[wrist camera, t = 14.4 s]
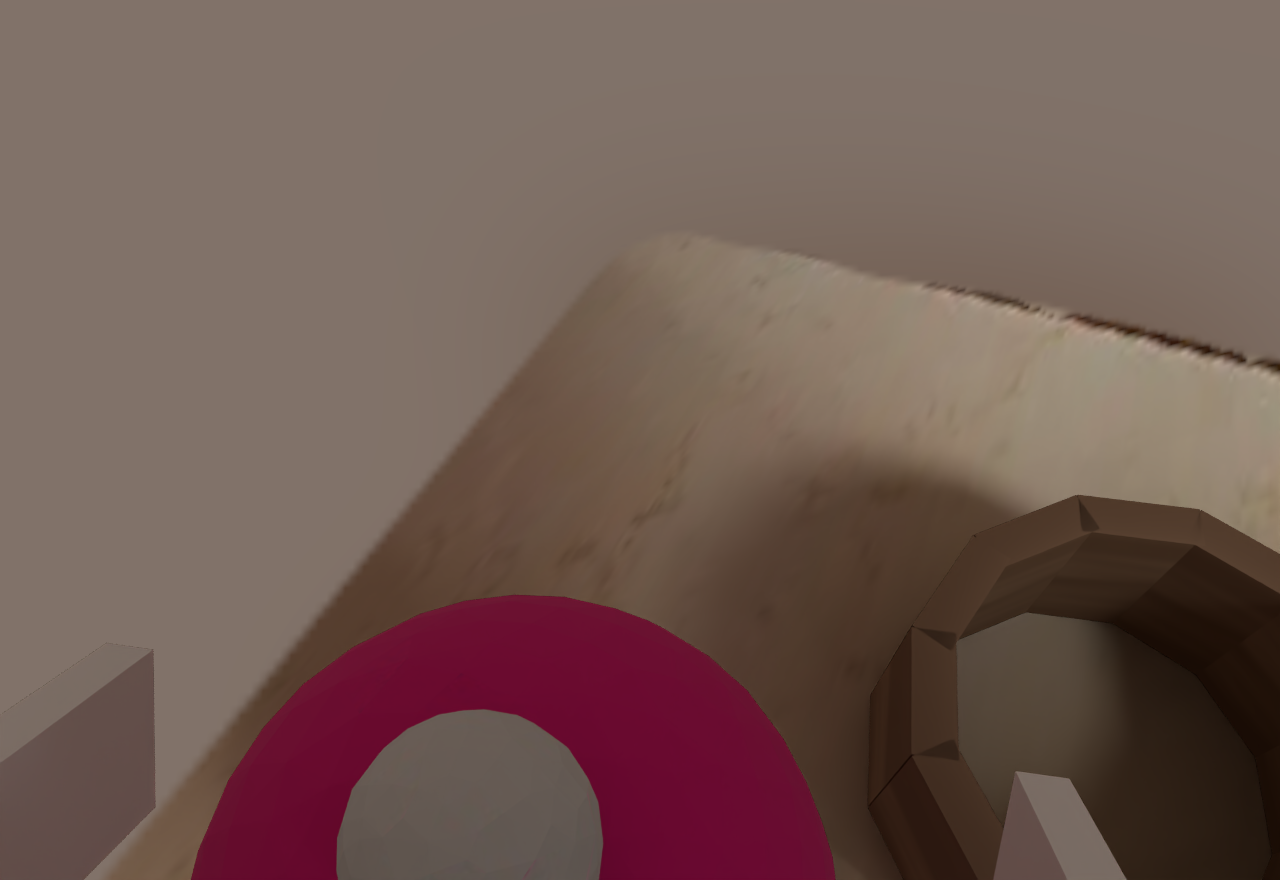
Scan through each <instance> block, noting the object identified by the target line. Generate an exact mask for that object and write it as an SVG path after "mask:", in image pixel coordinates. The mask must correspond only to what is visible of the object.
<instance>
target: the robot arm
mask: <svg viewBox="0 0 1280 880" xmlns="http://www.w3.org/2000/svg"><path fill="white" fill-rule="evenodd" d="M154 744H155V743H154V667H153V649H146V648H139V647H131V646H124V645H117V644H110V643H106V644H104V645H103V646H101V647H100V648H98V649H97V650H95V651H94V652H92V653H91V654H89V655H88V656H87V657H85V658H84V659H82V660H81V661H79V662H78V663H76V664H75V665H73V666H72V667H70V668H69V669H67V670H66V671H64V672H63V673H61V674H60V675H58V676H57V677H55V678H54V679H53V680H51V681H49V682H48V683H46V684H45V685H44V686H42V687H41V688H39V689H38V690H36V691H35V692H33V693H32V694H30V695H29V696H28V697H26V698H24V699H23V700H21V701H20V702H19V703H17V704H16V705H14V706H13V707H11V708H10V709H8V710H7V711H5V712H4V713H2V714H1V715H0V880H84V879H85V878H86V876H88V874H89V873H90V872H91V871H93V870H94V868H95V867H96V866H97V865H98V864H99V863H100V862H101V861H102V860H103V859H104V858H105V857H106V856H107V855H108V854H109V853H110V852H111V851H112V850H113V849H114V848H115V847H116V846H117V845H118V844H119V843H120V842H121V841H122V840H123V839H124V838H125V837H126V836H127V835H128V834H129V833H130V832H131V831H132V830H133V829H134V828H135V827H136V826H137V825H138V824H139V823H140V822H141V821H142V820H143V819H144V818H145V817H146V816H147V815H148V814H149V813H150V812H151V811H152V810H153V809H154V808H155V749H154V748H155V745H154ZM993 880H1127V879H1126V878H1125V876H1124V874H1123V872H1122V871H1121V869H1120V867H1119V865H1118V864H1117V862H1116V860H1115V858H1114V856H1113V855H1112V853H1111V851H1110V849H1109V848H1108V846H1107V844H1106V842H1105V841H1104V839H1103V837H1102V835H1101V833H1100V832H1099V830H1098V828H1097V826H1096V825H1095V823H1094V821H1093V819H1092V818H1091V816H1090V814H1089V812H1088V810H1087V809H1086V807H1085V805H1084V803H1083V802H1082V800H1081V798H1080V796H1079V795H1078V793H1077V791H1076V789H1075V787H1074V786H1073V784H1072V782H1071V780H1070V779H1069V778H1062V777H1055V776H1048V775H1041V774H1034V773H1027V772H1019V771H1015V776H1014V780H1013V785H1012V790H1011V795H1010V800H1009V805H1008V810H1007V815H1006V820H1005V825H1004V829H1003V834H1002V839H1001V844H1000V849H999V854H998V859H997V864H996V869H995V874H994V878H993Z"/></svg>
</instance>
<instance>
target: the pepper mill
mask: <svg viewBox="0 0 1280 880" xmlns="http://www.w3.org/2000/svg"><path fill="white" fill-rule="evenodd" d="M191 880H836V879H835V871H834V864H833V857H832V854H831V850H830V847H829V844H828V840H827V837H826V834H825V830H824V827H823V824H822V821H821V818H820V816H819V813H818V810H817V808H816V805H815V803H814V800H813V798H812V795H811V793H810V790H809V788H808V785H807V782H806V781H805V779H804V777H803V775H802V773H801V771H800V769H799V767H798V765H797V764H796V762H795V760H794V758H793V756H792V754H791V752H790V750H789V749H788V747H787V745H786V743H785V741H784V739H783V738H782V736H781V735H780V734H779V732H778V731H777V730H776V728H775V727H774V726H773V724H772V723H771V722H770V720H769V719H768V718H767V716H766V715H765V714H764V712H763V711H762V710H761V708H760V707H759V706H758V704H757V703H756V702H755V700H754V699H753V698H752V696H751V695H750V694H749V692H748V691H747V690H746V689H745V688H744V687H743V686H742V685H740V684H739V683H738V682H737V681H736V680H735V679H734V678H733V677H731V676H730V675H729V674H728V673H727V672H726V671H725V670H724V669H723V668H721V667H720V666H719V665H718V664H717V663H716V662H715V661H714V660H712V659H711V658H710V657H709V656H708V655H706V654H704V653H703V652H701V651H699V650H698V649H696V648H695V647H693V646H691V645H690V644H688V643H686V642H685V641H683V640H682V639H680V638H678V637H677V636H675V635H674V634H672V633H670V632H669V631H667V630H665V629H664V628H662V627H660V626H658V625H656V624H654V623H652V622H650V621H648V620H645V619H642V618H640V617H637V616H634V615H631V614H629V613H626V612H623V611H620V610H618V609H615V608H611V607H606V606H602V605H598V604H593V603H589V602H584V601H580V600H576V599H571V598H567V597H554V596H530V595H509V596H501V597H492V598H484V599H476V600H468V601H463V602H459V603H456V604H453V605H449V606H446V607H442V608H439V609H435V610H432V611H429V612H425V613H422V614H419V615H417V616H415V617H413V618H411V619H409V620H407V621H405V622H403V623H401V624H399V625H397V626H395V627H393V628H391V629H389V630H387V631H385V632H383V633H381V634H379V635H377V636H375V637H373V638H371V639H369V640H367V641H364V642H362V643H360V644H358V645H356V646H354V647H353V648H351V649H350V650H348V651H347V652H346V653H344V654H343V655H342V656H340V657H339V658H338V659H336V660H335V661H334V662H332V663H331V664H330V665H328V666H327V667H326V668H324V669H323V670H322V671H320V672H319V673H318V674H316V675H315V676H314V677H312V678H311V679H310V680H308V681H307V682H306V683H304V684H303V685H302V686H301V687H300V688H299V689H298V691H297V692H296V693H295V694H294V695H293V696H292V697H291V698H290V699H289V700H288V701H287V702H286V704H285V705H284V706H283V707H282V708H281V709H280V710H279V711H278V712H277V713H276V714H275V716H274V717H273V718H272V719H271V720H270V721H269V722H268V723H267V724H266V725H265V726H264V728H263V729H262V731H261V732H260V734H259V735H258V737H257V738H256V740H255V741H254V743H253V744H252V746H251V747H250V749H249V750H248V752H247V753H246V755H245V756H244V758H243V759H242V761H241V762H240V764H239V765H238V767H237V768H236V770H235V771H234V773H233V774H232V776H231V777H230V779H229V780H228V783H227V785H226V787H225V790H224V792H223V794H222V797H221V799H220V801H219V804H218V806H217V808H216V811H215V813H214V815H213V817H212V820H211V822H210V824H209V827H208V829H207V831H206V834H205V836H204V838H203V841H202V843H201V845H200V848H199V850H198V854H197V858H196V862H195V865H194V869H193V873H192V877H191Z"/></svg>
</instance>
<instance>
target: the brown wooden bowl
mask: <svg viewBox="0 0 1280 880" xmlns="http://www.w3.org/2000/svg"><path fill="white" fill-rule="evenodd" d="M1025 612H1029V613H1037V614H1045V615H1052V616H1060V617H1068V618H1076V619H1083V620H1091V621H1099V622H1107V623H1114V624H1115V625H1117V626H1118V627H1120V628H1122V629H1123V630H1125V631H1126V632H1128V633H1130V634H1131V635H1133V636H1135V637H1136V638H1138V639H1139V640H1141V641H1143V642H1144V643H1146V644H1147V645H1149V646H1151V647H1152V648H1154V649H1156V650H1157V651H1159V652H1160V653H1162V654H1164V655H1165V656H1167V657H1168V658H1170V659H1172V660H1173V661H1175V662H1177V663H1178V664H1180V665H1181V666H1183V667H1185V668H1186V669H1188V670H1189V671H1191V672H1193V673H1194V674H1196V675H1197V676H1198V678H1199V679H1200V681H1201V682H1202V683H1203V685H1204V686H1205V688H1206V689H1207V690H1208V692H1209V693H1210V695H1211V696H1212V698H1213V699H1214V700H1215V702H1216V703H1217V705H1218V706H1219V707H1220V709H1221V710H1222V712H1223V713H1224V714H1225V716H1226V717H1227V719H1228V720H1229V721H1230V723H1231V724H1232V726H1233V727H1234V728H1235V730H1236V731H1237V733H1238V734H1239V735H1240V737H1241V738H1242V740H1243V741H1244V742H1245V744H1246V745H1247V747H1248V748H1249V749H1250V751H1251V752H1252V754H1253V755H1254V756H1255V758H1256V764H1257V770H1258V775H1259V781H1260V787H1261V793H1262V798H1263V804H1264V810H1265V816H1266V821H1267V827H1268V833H1269V838H1270V844H1271V850H1272V857H1271V859H1270V862H1269V864H1268V866H1267V869H1266V871H1265V873H1264V876H1263V878H1262V880H1280V554H1279V553H1277V552H1275V551H1273V550H1272V549H1270V548H1268V547H1266V546H1264V545H1263V544H1261V543H1259V542H1257V541H1256V540H1254V539H1252V538H1250V537H1248V536H1247V535H1245V534H1243V533H1241V532H1240V531H1238V530H1236V529H1234V528H1232V527H1231V526H1229V525H1227V524H1225V523H1224V522H1222V521H1220V520H1218V519H1217V518H1215V517H1213V516H1211V515H1209V514H1208V513H1206V512H1204V511H1202V510H1201V511H1200V509H1192V508H1184V507H1175V506H1167V505H1159V504H1150V503H1142V502H1134V501H1125V500H1117V499H1109V498H1100V497H1092V496H1083V495H1078V496H1077V495H1075V496H1072V497H1070V498H1067V499H1065V500H1062V501H1060V502H1057V503H1054V504H1052V505H1049V506H1047V507H1044V508H1042V509H1039V510H1036V511H1034V512H1031V513H1029V514H1026V515H1024V516H1021V517H1018V518H1016V519H1013V520H1011V521H1008V522H1006V523H1003V524H1000V525H998V526H995V527H993V528H990V529H988V530H985V531H982V532H980V533H977V534H975V535H974V536H973V537H972V538H971V540H970V541H969V542H968V544H967V545H966V547H965V548H964V550H963V551H962V553H961V554H960V556H959V557H958V559H957V560H956V562H955V563H954V565H953V566H952V567H951V569H950V570H949V572H948V573H947V575H946V576H945V578H944V579H943V581H942V582H941V584H940V585H939V587H938V588H937V589H936V591H935V592H934V594H933V595H932V597H931V598H930V600H929V601H928V603H927V604H926V606H925V607H924V609H923V610H922V612H921V613H920V614H919V616H918V617H917V619H916V620H915V622H914V623H913V625H912V626H911V628H910V630H909V631H908V633H907V635H906V636H905V638H904V640H903V641H902V643H901V645H900V646H899V648H898V650H897V651H896V653H895V655H894V656H893V658H892V660H891V662H890V663H889V665H888V667H887V668H886V670H885V672H884V673H883V675H882V677H881V678H880V680H879V682H878V683H877V685H876V687H875V688H874V690H873V692H872V693H871V696H870V732H869V774H868V806H869V808H868V809H869V811H870V813H871V815H872V817H873V819H874V821H875V823H876V825H877V827H878V829H879V831H880V833H881V835H882V837H883V839H884V841H885V843H886V845H887V847H888V849H889V851H890V853H891V855H892V857H893V859H894V861H895V863H896V865H897V867H898V869H899V871H900V873H901V875H902V877H903V879H904V880H993V878H994V874H995V869H996V864H997V859H998V854H999V849H1000V844H1001V839H1002V834H1003V827H1002V826H1001V824H1000V822H999V820H998V818H997V817H996V815H995V813H994V811H993V810H992V808H991V806H990V804H989V802H988V801H987V799H986V797H985V795H984V794H983V792H982V790H981V788H980V786H979V785H978V783H977V781H976V779H975V778H974V776H973V774H972V772H971V770H970V769H969V767H968V765H967V763H966V762H965V760H964V758H963V756H962V754H961V753H960V751H959V745H958V701H957V656H956V642H957V641H958V640H959V639H961V638H964V637H966V636H969V635H971V634H974V633H976V632H979V631H981V630H983V629H986V628H988V627H991V626H993V625H996V624H998V623H1000V622H1003V621H1005V620H1008V619H1010V618H1013V617H1015V616H1018V615H1020V614H1022V613H1025Z"/></svg>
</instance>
